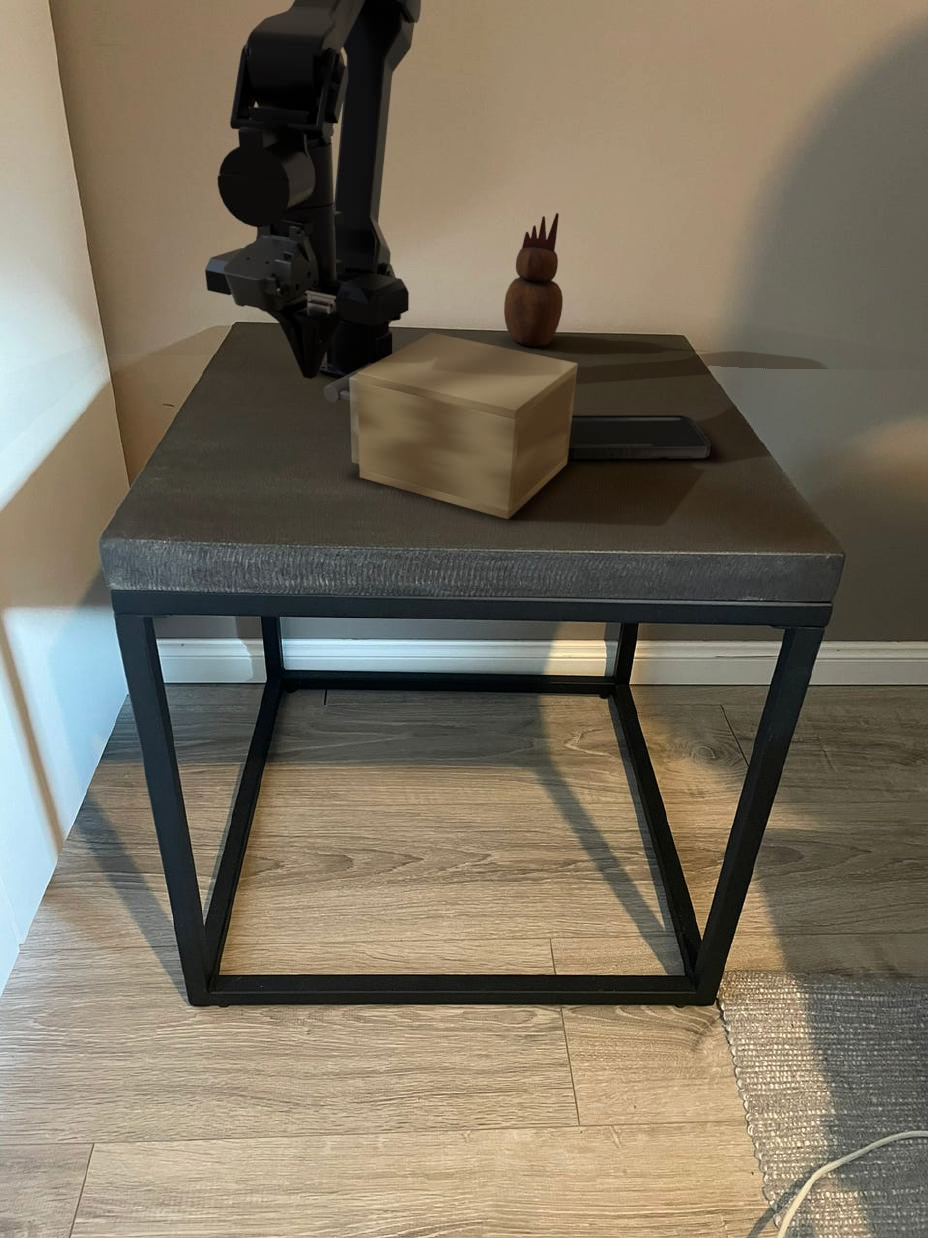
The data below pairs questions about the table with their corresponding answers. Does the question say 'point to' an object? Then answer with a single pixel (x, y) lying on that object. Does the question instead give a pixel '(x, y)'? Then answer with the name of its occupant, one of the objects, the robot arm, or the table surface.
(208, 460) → the table surface
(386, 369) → the cabinet
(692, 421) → the phone
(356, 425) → the drawer
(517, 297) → the wooden figurine
